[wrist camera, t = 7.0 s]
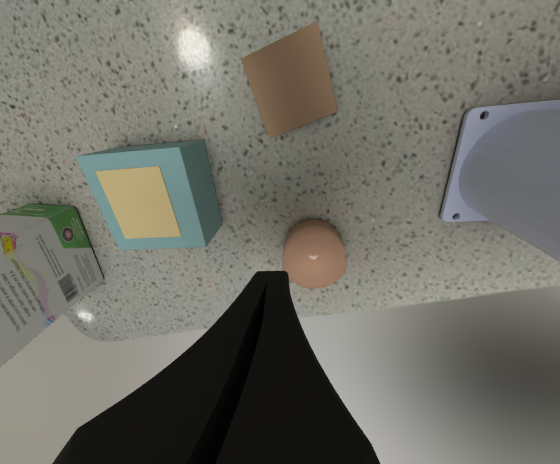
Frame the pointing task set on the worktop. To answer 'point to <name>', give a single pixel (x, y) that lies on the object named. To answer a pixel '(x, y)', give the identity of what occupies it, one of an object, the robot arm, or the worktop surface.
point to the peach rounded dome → (314, 254)
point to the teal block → (155, 194)
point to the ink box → (41, 271)
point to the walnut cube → (291, 81)
